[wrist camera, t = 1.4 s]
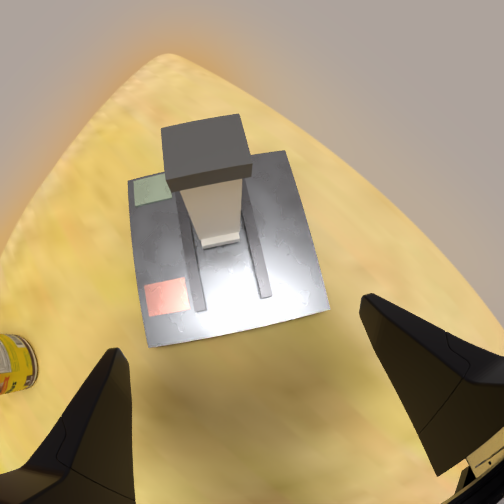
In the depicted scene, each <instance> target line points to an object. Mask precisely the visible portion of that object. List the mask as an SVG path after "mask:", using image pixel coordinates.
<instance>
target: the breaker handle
mask: <svg viewBox="0 0 504 504" xmlns="http://www.w3.org/2000/svg"><path fill="white" fill-rule="evenodd" d="M161 136H162V149H163V160H164V170H165V179H166V182H167V184H168V187H169V189H170V191H171V193H172V192H177V191H180V193H181V196H182V198H183V201H184V203H185V206H186V208H187V211H188V213H189V216H190V218H191V221H192V223H193V225H194V228H195V230H196V233H197V235H198V238H199V240H201V244H202V247H203V249H206V248H211V247H216V246H221V245H225V244H230V243H235V242H240V237H239V232H240V218H241V196H242V179H243V178H249V177H251V175H252V165H253V162H252V159H251V155H250V151H249V148H248V144H247V140H246V136H245V133H244V129H243V126H242V122H241V118H240V115H239V114H233V115H227V116H220V117H214V118H208V119H203V120H198V121H192V122H187V123H183V124H178V125H173V126H169V127H164V128H161Z"/></svg>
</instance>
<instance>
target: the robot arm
mask: <svg viewBox="0 0 504 504" xmlns="http://www.w3.org/2000/svg"><path fill="white" fill-rule="evenodd" d="M359 315H360V318H361V320H362V323H363V325H364V328H365V330H366V332H367V335H368V337H369V339H370V342H371V344H372V347H373V349H374V351H375V353H376V355H377V357H378V358H379V360H380V362H381V364H382V366H383V368H384V369H385V371H386V373H387V375H388V377H389V379H390V381H391V383H392V385H393V386H394V388H395V390H396V392H397V394H398V396H399V398H400V400H401V402H402V404H403V406H404V408H405V410H406V412H407V414H408V416H409V418H410V420H411V422H412V424H413V426H414V428H415V430H416V432H417V434H418V437H419V439H420V441H421V443H422V445H423V447H424V449H425V451H426V454H427V456H428V458H429V460H430V462H431V465H432V467H433V469H434V471H435V473H436V475H437V477H438V476H440V475H441V474H443V473H444V472H446V471H447V470H449V469H450V468H452V467H453V466H455V465H456V464H458V463H459V462H461V461H462V460H463V459H466V460H467V462H468V464H469V466H468V467H466V468H465V469H464V470H462V472H461V476H460V479H459V482H458V485H457V488H456V491H455V494H454V495H453V496H452V497H450V498H449V499H447V500H446V501H444V502H443V503H441V504H504V357H503V356H499V355H497V354H494V353H492V352H489V351H487V350H485V349H482V348H480V347H477V346H475V345H473V344H471V343H468V342H466V341H464V340H462V339H460V338H458V337H456V336H454V335H452V334H450V333H448V332H445V331H444V330H443V329H441V328H439V327H437V326H435V325H433V324H431V323H429V322H427V321H426V320H424V319H422V318H420V317H418V316H416V315H414V314H412V313H410V312H408V311H406V310H405V309H403V308H401V307H399V306H397V305H395V304H393V303H391V302H389V301H387V300H385V299H383V298H381V297H379V296H377V295H376V294H373V293H369V294H366V295H363V296H362V298H361V304H360V310H359ZM0 504H136V502H135V490H134V477H133V457H132V397H131V385H130V371H129V363H128V361H127V359H126V358H125V356H124V355H123V353H122V352H121V350H120V349H119V348H110V349H108V350H107V351H106V352H105V354H104V355H103V356H102V358H101V359H100V361H99V362H98V363H97V365H96V366H95V367H94V369H93V370H92V372H91V373H90V374H89V376H88V377H87V379H86V380H85V382H84V383H83V384H82V386H81V387H80V389H79V390H78V392H77V393H76V394H75V396H74V397H73V399H72V400H71V402H70V403H69V405H68V406H67V408H66V409H65V411H64V412H63V414H62V417H60V418H59V420H58V421H57V423H56V424H55V426H54V427H53V428H52V430H51V431H50V433H49V434H48V436H47V437H46V438H45V439H44V441H43V442H42V443H41V445H40V446H39V447H38V448H37V450H36V451H35V452H34V454H33V455H32V456H31V457H30V459H29V460H28V461H27V462H26V463H25V464H24V465H23V466H22V467H20V468H18V469H16V470H13V471H10V472H7V473H4V474H0Z"/></svg>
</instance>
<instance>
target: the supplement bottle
mask: <svg viewBox="0 0 504 504" xmlns="http://www.w3.org/2000/svg"><path fill="white" fill-rule="evenodd" d="M36 375H37V363H36V358H35V355H34V352H33V350H32V348H31V347H30V345H29V344H28V343H27V341H26V340H25V339H23V338H22V337H20V336H17V335H7V334H0V395H1V394H6V393H10V392H15V391H20V390H24V389H27V388H29V387H30V386H31V385H32V384H33V383H34V381H35V379H36Z"/></svg>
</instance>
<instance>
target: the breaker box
mask: <svg viewBox="0 0 504 504" xmlns="http://www.w3.org/2000/svg"><path fill="white" fill-rule="evenodd" d="M251 159H252V162H253V165H252V175H251V177H249V178H243V179H242V196H241V218H240V232H239V237H240V242H235V243H230V244H225V245H221V246H216V247H211V248H206V249H203V247H202V244H201V240H199V238H198V235H197V233H196V230H195V228H194V225H193V223H192V221H191V218H190V216H189V213H188V211H187V208H186V206H185V203H184V201H183V198H182V196H181V193H180V191H177V192H172V193H171V191H170V189H169V187H168V184H167V182H166V179H165V172H161V173H157V174H153V175H149V176H145V177H141V178H137V179H133V180H129V181H128V198H129V213H130V226H131V237H132V247H133V256H134V264H135V272H136V279H137V286H138V293H139V299H140V306H141V312H142V317H143V323H144V328H145V333H146V338H147V343H148V348H151V347H158V346H164V345H170V344H176V343H182V342H188V341H193V340H199V339H204V338H210V337H215V336H220V335H225V334H230V333H235V332H239V331H244V330H249V329H253V328H258V327H262V326H266V325H271V324H275V323H279V322H283V321H288V320H292V319H296V318H300V317H303V316H307V315H311V314H315V313H319V312H322V311H326V310H330V306H329V302H328V298H327V294H326V290H325V286H324V282H323V278H322V274H321V270H320V266H319V263H318V259H317V255H316V251H315V248H314V244H313V240H312V237H311V233H310V230H309V226H308V223H307V219H306V216H305V213H304V209H303V206H302V203H301V199H300V196H299V193H298V189H297V186H296V183H295V180H294V177H293V174H292V170H291V167H290V164H289V161H288V158H287V155H286V152H285V150H284V151H276V152H269V153H262V154H255V155H251Z"/></svg>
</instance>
